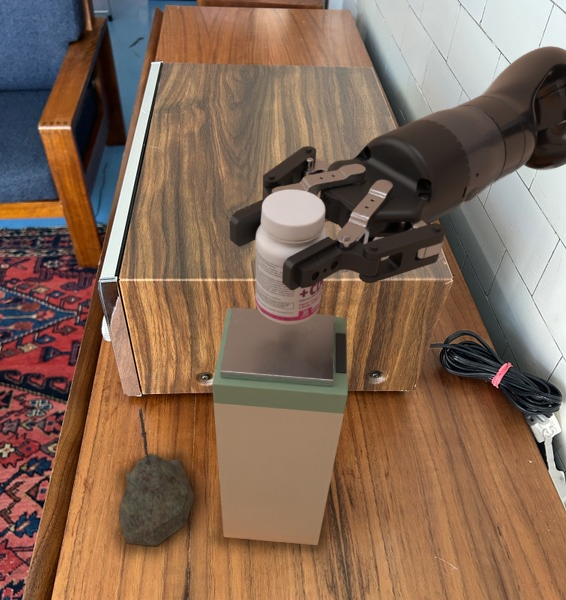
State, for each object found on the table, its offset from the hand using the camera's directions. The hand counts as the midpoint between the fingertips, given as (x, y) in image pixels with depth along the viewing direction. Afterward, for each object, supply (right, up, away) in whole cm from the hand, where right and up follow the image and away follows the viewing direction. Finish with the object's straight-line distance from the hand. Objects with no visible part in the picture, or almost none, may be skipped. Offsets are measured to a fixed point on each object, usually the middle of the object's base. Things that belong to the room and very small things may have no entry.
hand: (259, 253), depth 35 cm
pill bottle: (+2, -3, +6) cm, 7 cm away
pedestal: (0, -26, +27) cm, 37 cm away
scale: (+1, -8, +10) cm, 14 cm away
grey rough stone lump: (-12, -25, +27) cm, 39 cm away
